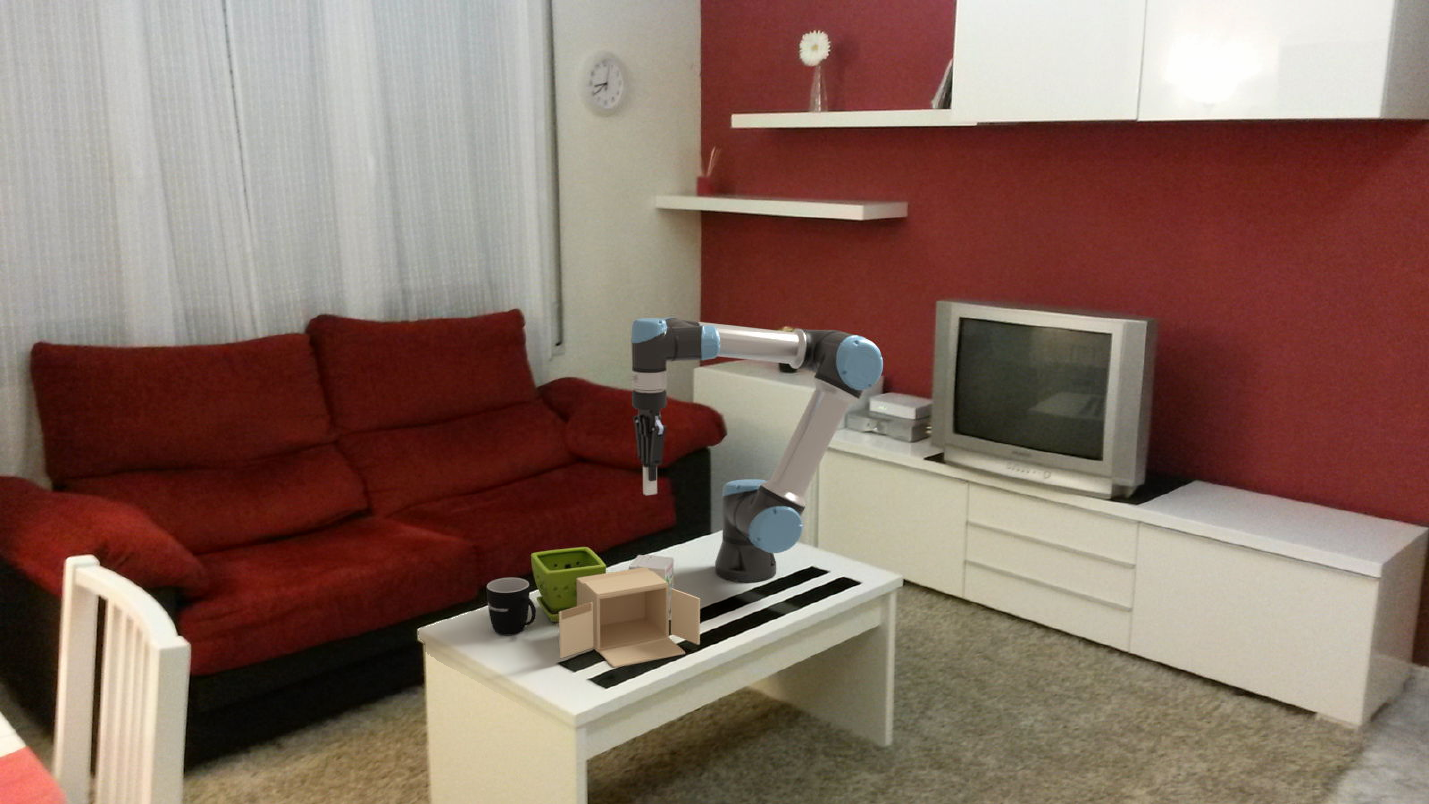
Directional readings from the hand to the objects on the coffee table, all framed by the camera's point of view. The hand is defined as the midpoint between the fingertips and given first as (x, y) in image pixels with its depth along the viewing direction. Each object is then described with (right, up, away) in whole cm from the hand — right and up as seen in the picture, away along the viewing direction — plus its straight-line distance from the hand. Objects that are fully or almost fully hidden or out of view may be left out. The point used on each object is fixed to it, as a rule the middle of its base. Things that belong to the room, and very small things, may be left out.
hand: (650, 493), depth 251 cm
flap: (-13, -30, -23) cm, 40 cm away
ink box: (0, -27, +2) cm, 27 cm away
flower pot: (-18, -27, +1) cm, 32 cm away
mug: (-28, -29, -10) cm, 42 cm away
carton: (-2, -30, -14) cm, 33 cm away
